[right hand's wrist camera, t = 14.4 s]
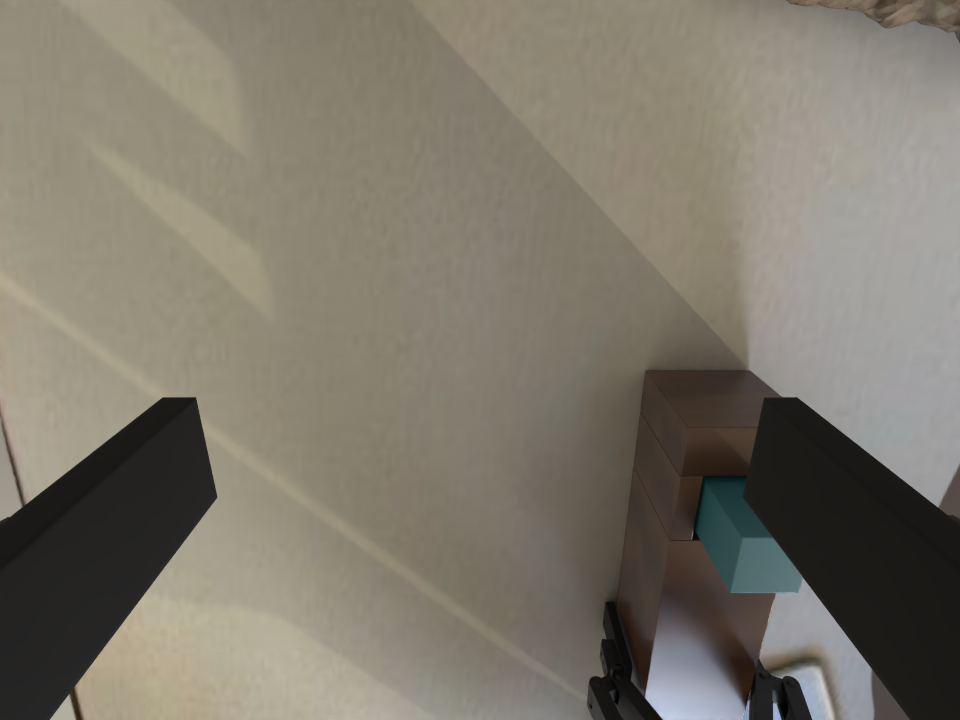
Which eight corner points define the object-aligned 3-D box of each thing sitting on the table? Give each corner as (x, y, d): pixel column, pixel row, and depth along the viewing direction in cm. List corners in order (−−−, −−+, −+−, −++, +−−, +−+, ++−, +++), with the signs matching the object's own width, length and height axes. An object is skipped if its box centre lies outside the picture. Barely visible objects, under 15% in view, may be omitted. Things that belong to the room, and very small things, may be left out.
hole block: (645, 370, 41) (687, 427, 32) (750, 369, 41) (820, 427, 32) (612, 641, 51) (638, 737, 43) (696, 641, 51) (738, 737, 43)
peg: (661, 417, 42) (742, 537, 29) (712, 417, 42) (815, 537, 29) (655, 461, 44) (729, 593, 31) (704, 461, 44) (799, 593, 31)
